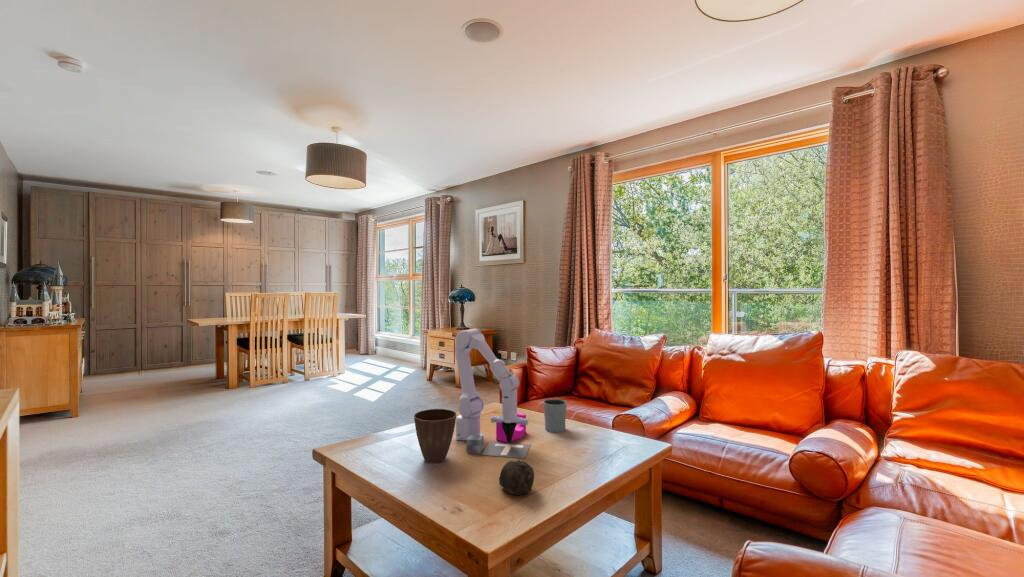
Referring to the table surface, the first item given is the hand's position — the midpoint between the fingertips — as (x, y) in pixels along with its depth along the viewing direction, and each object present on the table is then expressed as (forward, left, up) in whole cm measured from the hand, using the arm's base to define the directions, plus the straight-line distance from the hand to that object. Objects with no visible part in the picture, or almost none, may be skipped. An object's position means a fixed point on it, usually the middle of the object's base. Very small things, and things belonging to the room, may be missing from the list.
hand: (509, 441), depth 172 cm
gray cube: (-11, -8, -2) cm, 14 cm away
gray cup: (+15, +23, -2) cm, 28 cm away
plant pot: (-23, -19, -2) cm, 30 cm away
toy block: (0, +10, -2) cm, 10 cm away
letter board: (0, -5, -1) cm, 5 cm away
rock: (+10, -37, -2) cm, 38 cm away
